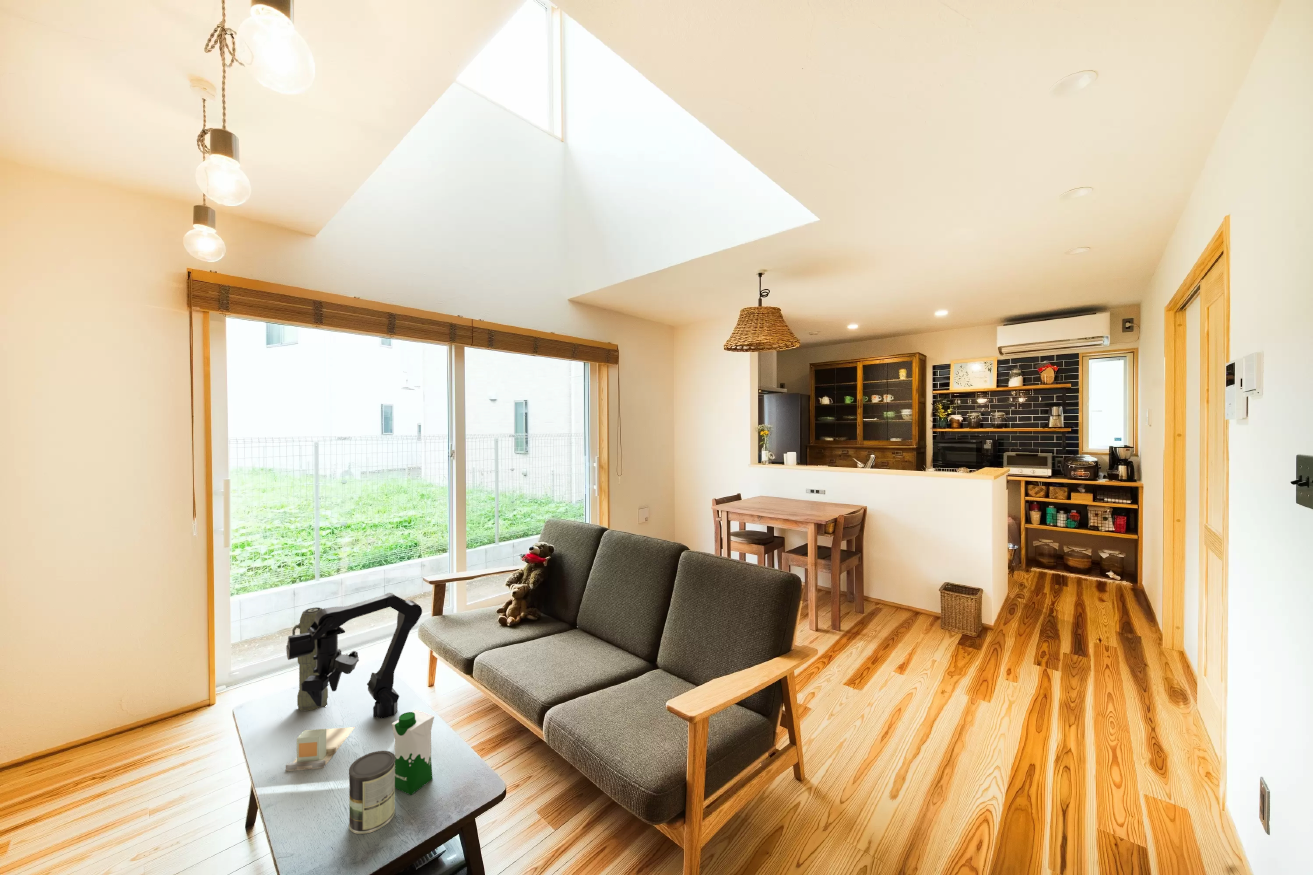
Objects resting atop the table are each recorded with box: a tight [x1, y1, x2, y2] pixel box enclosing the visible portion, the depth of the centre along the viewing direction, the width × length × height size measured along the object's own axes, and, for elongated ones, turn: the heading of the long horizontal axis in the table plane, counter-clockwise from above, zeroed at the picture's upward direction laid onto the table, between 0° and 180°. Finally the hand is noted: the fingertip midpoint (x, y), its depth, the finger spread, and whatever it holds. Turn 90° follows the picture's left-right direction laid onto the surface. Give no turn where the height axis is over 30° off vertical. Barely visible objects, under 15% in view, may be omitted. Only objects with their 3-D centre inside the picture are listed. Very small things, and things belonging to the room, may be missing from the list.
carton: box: [296, 728, 327, 762], centre depth 146 cm, size 4×6×8 cm, turn 98°
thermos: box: [291, 607, 329, 712], centre depth 177 cm, size 9×12×35 cm
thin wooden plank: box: [285, 726, 356, 772], centre depth 153 cm, size 10×20×3 cm, turn 8°
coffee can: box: [348, 750, 396, 835], centre depth 127 cm, size 10×10×14 cm
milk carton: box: [391, 709, 435, 796], centre depth 139 cm, size 9×9×20 cm
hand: (327, 698), depth 159 cm, fingers open, 9 cm apart
